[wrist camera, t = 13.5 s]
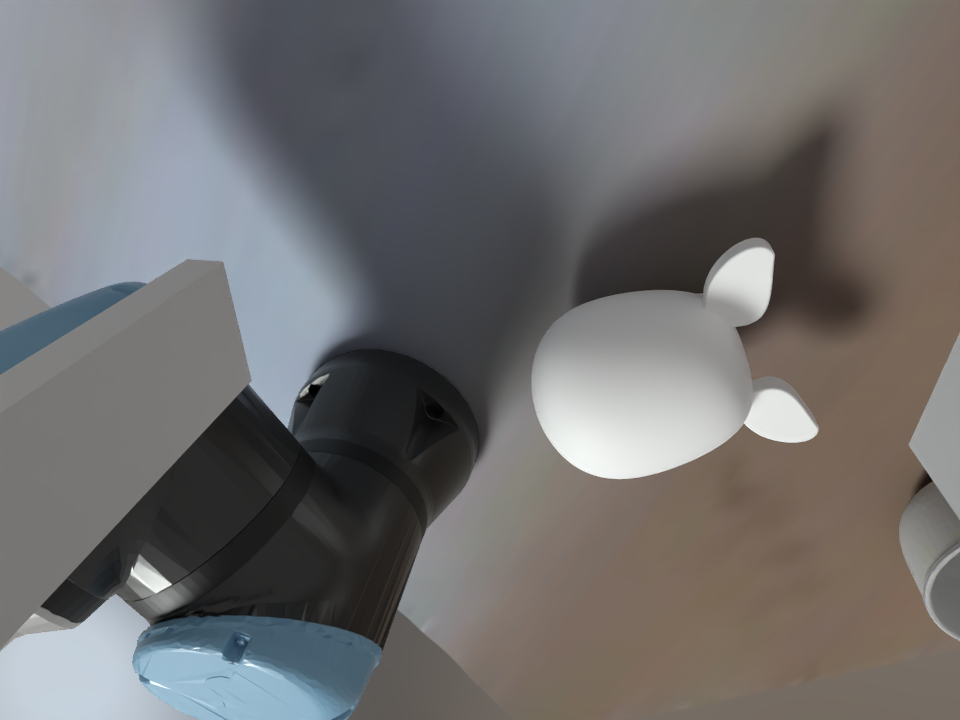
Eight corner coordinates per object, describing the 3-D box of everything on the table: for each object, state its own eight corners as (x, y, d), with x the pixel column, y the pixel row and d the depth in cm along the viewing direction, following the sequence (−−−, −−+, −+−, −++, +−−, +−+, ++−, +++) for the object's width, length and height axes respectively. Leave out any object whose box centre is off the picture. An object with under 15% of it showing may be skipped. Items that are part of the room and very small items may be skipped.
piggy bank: (564, 390, 46) (771, 329, 41) (578, 530, 38) (839, 476, 33) (496, 273, 38) (743, 181, 33) (496, 418, 30) (824, 325, 25)
